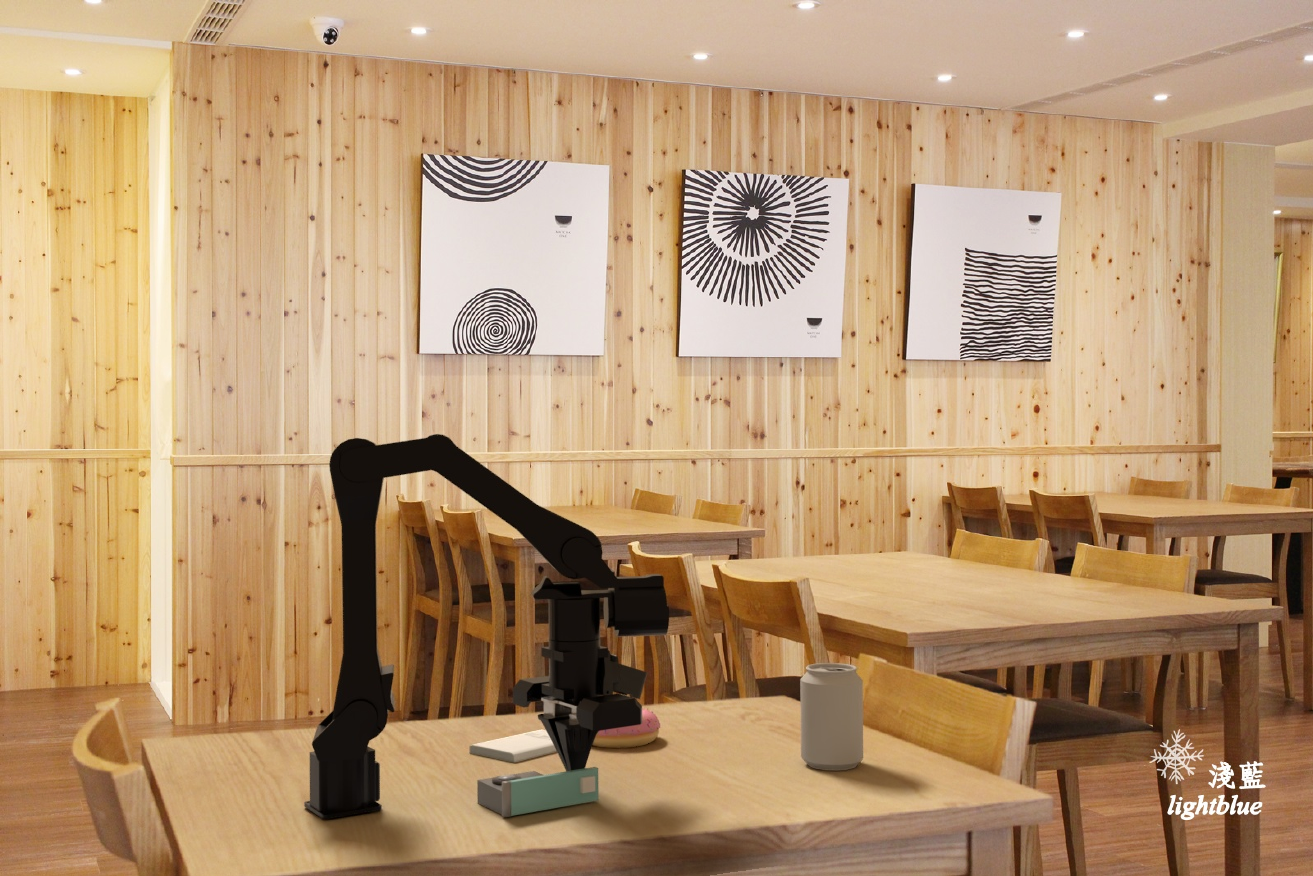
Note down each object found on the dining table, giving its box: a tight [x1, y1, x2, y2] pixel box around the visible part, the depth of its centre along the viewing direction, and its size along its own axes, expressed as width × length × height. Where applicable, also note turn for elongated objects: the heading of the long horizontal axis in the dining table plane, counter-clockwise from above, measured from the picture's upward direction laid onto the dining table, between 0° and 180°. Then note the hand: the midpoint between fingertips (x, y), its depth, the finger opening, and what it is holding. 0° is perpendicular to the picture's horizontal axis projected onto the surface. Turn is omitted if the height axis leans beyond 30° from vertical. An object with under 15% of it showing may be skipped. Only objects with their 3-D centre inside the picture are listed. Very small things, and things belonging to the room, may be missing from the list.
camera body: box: [476, 770, 544, 816], centre depth 145 cm, size 7×6×3 cm
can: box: [799, 662, 864, 772], centre depth 162 cm, size 8×8×12 cm
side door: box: [501, 766, 600, 818], centre depth 142 cm, size 12×1×4 cm, turn 124°
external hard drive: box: [469, 729, 557, 763], centre depth 171 cm, size 2×8×12 cm
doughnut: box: [592, 707, 661, 749], centre depth 176 cm, size 11×11×4 cm
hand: (575, 779), depth 148 cm, fingers closed
